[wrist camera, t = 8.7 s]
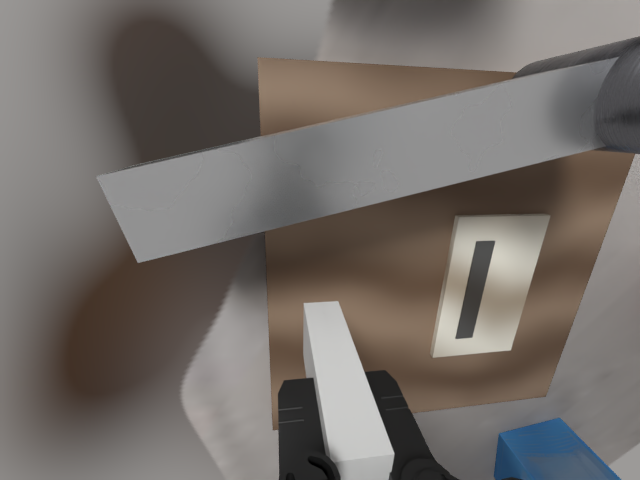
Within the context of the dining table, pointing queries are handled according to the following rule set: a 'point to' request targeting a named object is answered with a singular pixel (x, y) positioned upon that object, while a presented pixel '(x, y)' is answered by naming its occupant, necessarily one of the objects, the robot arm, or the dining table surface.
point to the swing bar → (381, 153)
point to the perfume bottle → (548, 455)
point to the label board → (436, 251)
